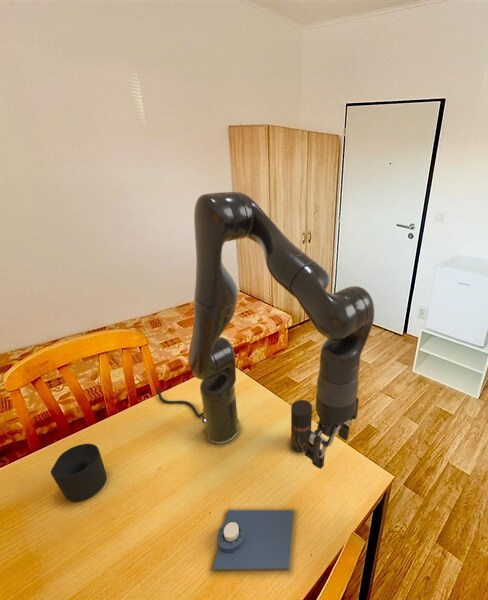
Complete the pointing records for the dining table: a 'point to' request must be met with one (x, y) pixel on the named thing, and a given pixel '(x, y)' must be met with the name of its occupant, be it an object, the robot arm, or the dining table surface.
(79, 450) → the pen holder
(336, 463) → the dining table surface
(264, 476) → the dining table surface
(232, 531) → the button
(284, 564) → the scale
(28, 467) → the dining table surface
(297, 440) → the deodorant
